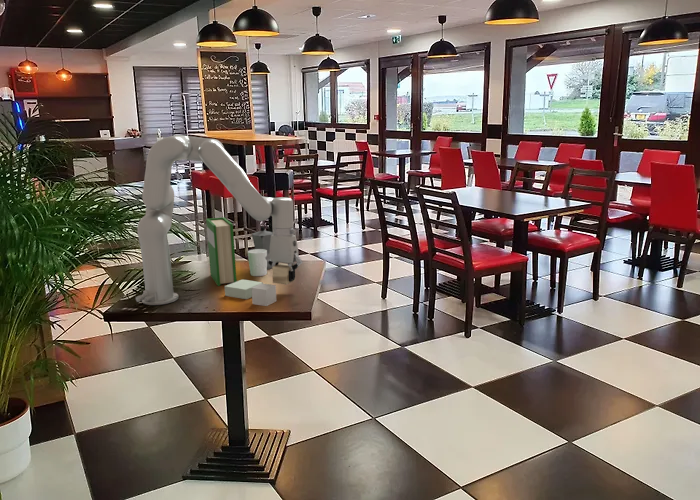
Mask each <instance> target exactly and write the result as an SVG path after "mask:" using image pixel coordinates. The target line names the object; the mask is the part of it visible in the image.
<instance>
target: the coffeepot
mask: <svg viewBox="0 0 700 500" xmlns="http://www.w3.org/2000/svg"><path fill="white" fill-rule="evenodd" d="M251 235H252V236H251V237H252V241H253V245H254V249H265V250H267V255H268V254H269V253H270V241H271V236H272V235H273V231H268V230H266V229H265V226H261V227H260V230H259V231H256V232H254V233H253V232H252V234H251ZM270 269H272V268H271V265H270V264H269V262H268V261H267V270H270Z"/></svg>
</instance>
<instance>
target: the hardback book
mask: <svg viewBox="0 0 700 500" xmlns="http://www.w3.org/2000/svg"><path fill="white" fill-rule="evenodd" d="M205 221H206V232H207V233H206V235H207V245H208V246H207V248H208V257H209V259H208V260H209V270H210V271H209V273H210V277H211V278H212V280H213V282H215V285H217V287H221V285H222V284H232V283H234V282H237V281H238V280H237V279H238V278H237V269H236V268H237V267H236V256H235V255H236V254H235V253H236V252H235V238H234V236H235V235H234V224H233V223H232V222H231V221H230V220H228V218H226V217H224V216H223V217H213V218H212V217H211V218H206V219H205Z"/></svg>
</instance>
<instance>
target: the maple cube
mask: <svg viewBox="0 0 700 500" xmlns="http://www.w3.org/2000/svg"><path fill="white" fill-rule="evenodd" d="M271 271H272V272H271V273H272V283H273V284H279V285H284V286H285V285H289V284H291V283H293V282H295V281H296V279H295V280H293V281H291V282H289V271H290V269H289V266H288V263H279V264H278V265H276V266H273V267H272V270H271Z"/></svg>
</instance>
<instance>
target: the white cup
mask: <svg viewBox="0 0 700 500" xmlns="http://www.w3.org/2000/svg"><path fill="white" fill-rule="evenodd" d="M247 256H248V259H247V260H248V264H249V274H250V276H253V277H262V276H266V275H267V273H268V269H267V260H266V259H265V257H266V256H267V250H265V249H255V248H254V249H249V250H247Z"/></svg>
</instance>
